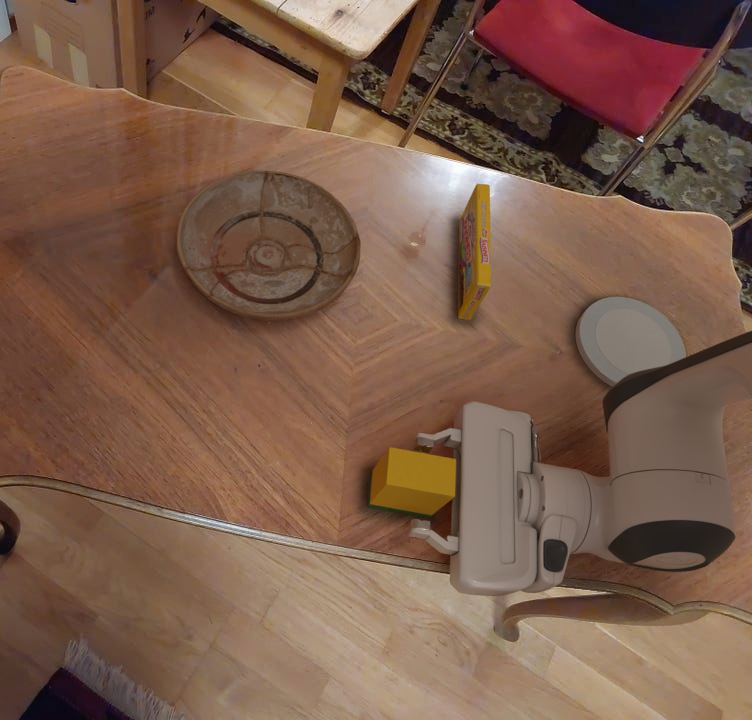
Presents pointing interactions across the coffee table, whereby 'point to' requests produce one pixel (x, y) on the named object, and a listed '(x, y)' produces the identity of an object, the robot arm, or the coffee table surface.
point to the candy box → (474, 252)
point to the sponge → (412, 482)
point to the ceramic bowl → (268, 245)
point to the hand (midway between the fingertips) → (413, 482)
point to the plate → (626, 338)
